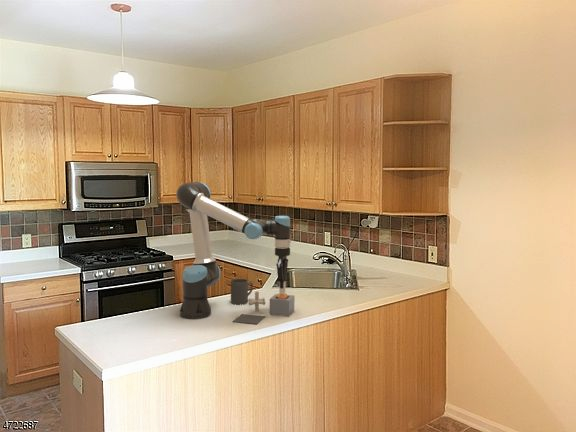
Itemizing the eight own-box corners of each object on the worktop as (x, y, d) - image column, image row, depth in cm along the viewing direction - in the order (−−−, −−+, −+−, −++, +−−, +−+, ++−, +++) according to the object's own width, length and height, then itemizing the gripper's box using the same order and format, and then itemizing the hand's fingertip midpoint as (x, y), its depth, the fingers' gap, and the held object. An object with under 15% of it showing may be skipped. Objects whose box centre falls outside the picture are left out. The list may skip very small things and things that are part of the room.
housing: (269, 314, 242) (269, 298, 241) (275, 309, 251) (275, 293, 250) (289, 316, 239) (289, 300, 238) (294, 310, 249) (294, 295, 248)
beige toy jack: (256, 307, 255) (256, 288, 254) (270, 310, 248) (270, 291, 247) (242, 311, 247) (242, 292, 246) (257, 315, 241) (257, 295, 240)
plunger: (275, 300, 243) (275, 295, 242) (278, 297, 248) (278, 293, 247) (285, 301, 241) (285, 296, 241) (288, 298, 246) (288, 293, 246)
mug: (237, 306, 257) (237, 283, 255) (227, 302, 263) (227, 280, 262) (257, 301, 266) (257, 279, 265) (247, 297, 273) (247, 276, 271)
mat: (232, 322, 230) (232, 321, 230) (241, 314, 241) (241, 313, 241) (256, 324, 227) (256, 323, 227) (264, 317, 238) (264, 316, 238)
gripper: (286, 249, 235) (286, 298, 237) (293, 245, 247) (293, 291, 249) (271, 249, 237) (271, 297, 239) (279, 244, 249) (279, 290, 251)
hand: (282, 294), depth 244 cm, fingers closed
